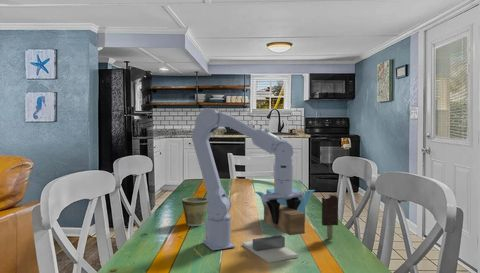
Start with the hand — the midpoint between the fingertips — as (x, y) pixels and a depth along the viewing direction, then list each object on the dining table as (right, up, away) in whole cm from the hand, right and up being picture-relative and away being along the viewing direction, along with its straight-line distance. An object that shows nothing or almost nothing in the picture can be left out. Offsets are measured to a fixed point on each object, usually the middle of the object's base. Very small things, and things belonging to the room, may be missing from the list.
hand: (283, 222), depth 117 cm
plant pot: (-31, -8, +30) cm, 44 cm away
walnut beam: (0, -2, 0) cm, 2 cm away
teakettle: (+4, -8, +32) cm, 33 cm away
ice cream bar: (+17, -8, +10) cm, 22 cm away
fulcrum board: (-5, -8, -2) cm, 10 cm away
